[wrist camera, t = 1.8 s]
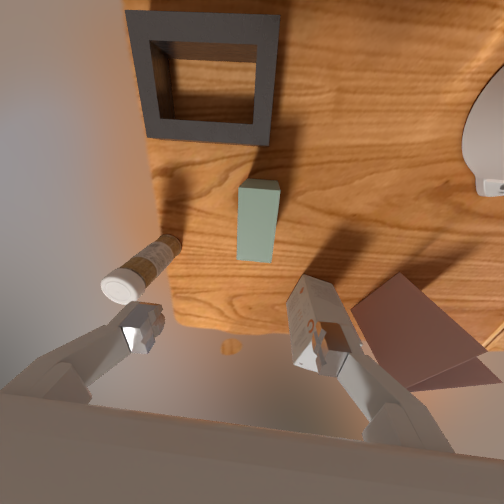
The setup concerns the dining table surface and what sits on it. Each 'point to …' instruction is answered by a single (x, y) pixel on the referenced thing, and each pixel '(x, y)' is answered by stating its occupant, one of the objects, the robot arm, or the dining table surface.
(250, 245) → the sage block
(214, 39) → the keyed collar
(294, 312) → the small box
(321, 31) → the dining table surface
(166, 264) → the sprinkles bottle
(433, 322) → the greeting card
